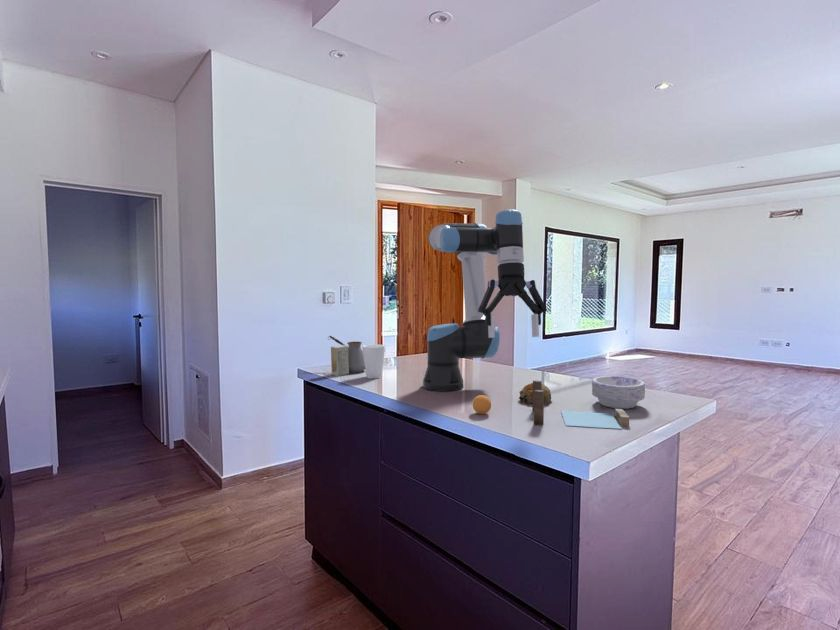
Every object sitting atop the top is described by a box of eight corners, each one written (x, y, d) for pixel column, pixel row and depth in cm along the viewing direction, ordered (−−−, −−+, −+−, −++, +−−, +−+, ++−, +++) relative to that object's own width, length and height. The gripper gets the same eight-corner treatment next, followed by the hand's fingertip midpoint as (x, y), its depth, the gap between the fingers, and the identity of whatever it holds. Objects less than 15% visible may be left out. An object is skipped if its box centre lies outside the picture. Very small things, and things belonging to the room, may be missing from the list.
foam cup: (384, 379, 180) (384, 347, 179) (361, 379, 180) (361, 347, 179) (386, 374, 190) (386, 344, 189) (364, 374, 190) (364, 344, 189)
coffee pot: (373, 370, 199) (372, 337, 198) (356, 374, 190) (355, 339, 189) (338, 365, 211) (337, 334, 210) (320, 369, 201) (319, 336, 200)
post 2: (533, 421, 123) (533, 389, 123) (543, 422, 123) (543, 390, 122) (533, 424, 121) (534, 392, 120) (543, 425, 120) (544, 392, 120)
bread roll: (546, 417, 140) (558, 395, 139) (516, 402, 142) (528, 380, 141) (544, 408, 150) (555, 387, 149) (516, 394, 152) (527, 373, 150)
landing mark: (560, 411, 133) (560, 410, 133) (610, 414, 130) (610, 413, 130) (565, 426, 120) (565, 425, 120) (621, 429, 117) (621, 428, 117)
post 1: (532, 409, 136) (532, 380, 135) (541, 409, 135) (541, 380, 135) (532, 411, 133) (532, 382, 133) (541, 412, 133) (541, 382, 132)
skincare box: (343, 372, 194) (342, 344, 193) (349, 374, 191) (348, 345, 190) (330, 374, 190) (330, 346, 189) (336, 376, 186) (336, 347, 186)
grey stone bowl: (584, 406, 139) (584, 381, 139) (601, 396, 151) (601, 373, 150) (636, 415, 129) (637, 388, 129) (650, 404, 141) (651, 379, 140)
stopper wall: (614, 417, 127) (615, 408, 127) (622, 417, 127) (622, 409, 127) (621, 425, 120) (621, 416, 119) (629, 426, 119) (629, 417, 119)
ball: (473, 410, 135) (473, 392, 134) (491, 411, 134) (491, 393, 133) (471, 415, 129) (471, 397, 129) (490, 416, 128) (490, 398, 128)
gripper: (474, 260, 123) (477, 337, 121) (556, 262, 128) (560, 335, 126) (465, 265, 130) (468, 338, 128) (543, 267, 136) (546, 337, 134)
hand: (513, 337), depth 127 cm, fingers open, 13 cm apart
